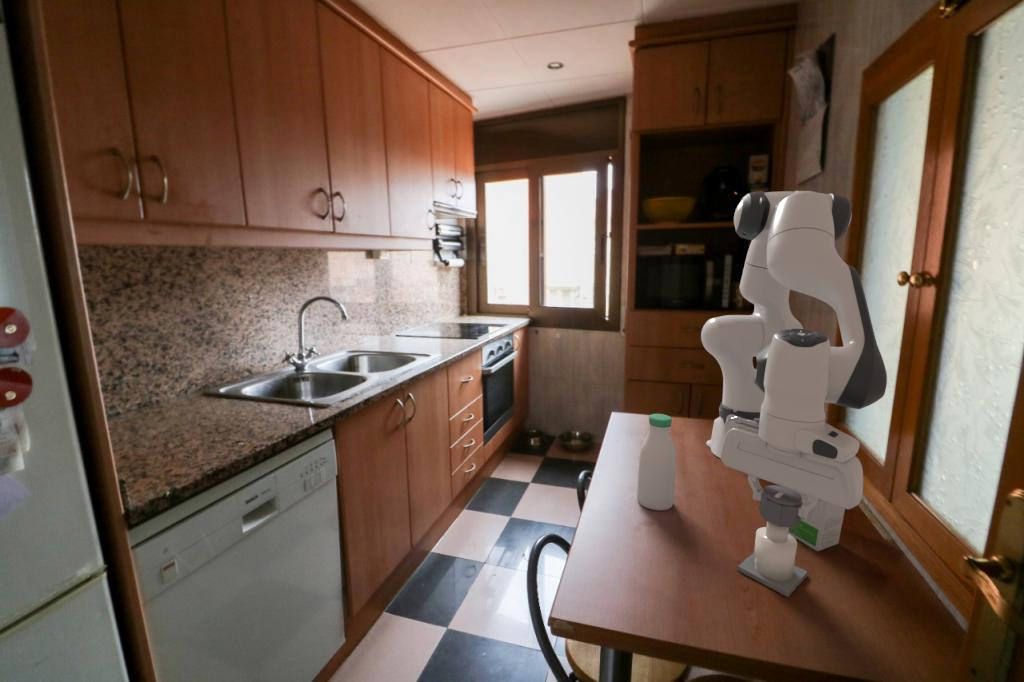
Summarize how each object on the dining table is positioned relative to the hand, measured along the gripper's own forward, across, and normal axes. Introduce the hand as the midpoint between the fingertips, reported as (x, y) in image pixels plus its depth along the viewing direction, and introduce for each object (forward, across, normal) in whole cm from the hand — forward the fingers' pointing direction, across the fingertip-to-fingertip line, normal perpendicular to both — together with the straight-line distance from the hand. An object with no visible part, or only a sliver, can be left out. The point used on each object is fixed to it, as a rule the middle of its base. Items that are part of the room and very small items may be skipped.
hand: (780, 508), depth 75 cm
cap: (+2, 0, 0) cm, 2 cm away
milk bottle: (+12, -26, +4) cm, 29 cm away
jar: (+12, 0, 0) cm, 12 cm away
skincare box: (+12, 0, +17) cm, 21 cm away
